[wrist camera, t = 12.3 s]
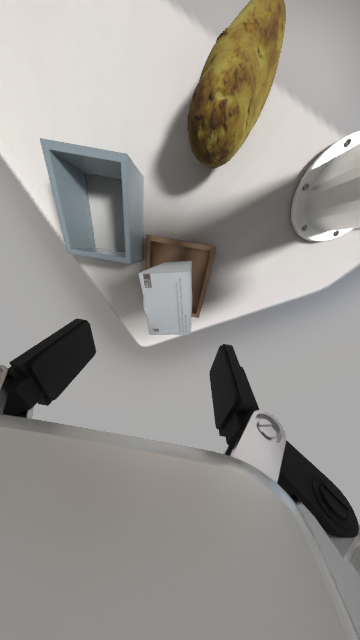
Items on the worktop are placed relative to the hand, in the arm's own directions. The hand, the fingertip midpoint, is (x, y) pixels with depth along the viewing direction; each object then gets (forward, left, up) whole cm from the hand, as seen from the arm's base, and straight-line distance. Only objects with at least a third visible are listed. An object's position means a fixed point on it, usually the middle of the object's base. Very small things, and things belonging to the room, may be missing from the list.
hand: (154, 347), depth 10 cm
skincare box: (0, 0, -22) cm, 22 cm away
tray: (0, 0, -23) cm, 23 cm away
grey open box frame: (+13, -9, -23) cm, 28 cm away
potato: (-4, -22, -23) cm, 32 cm away
